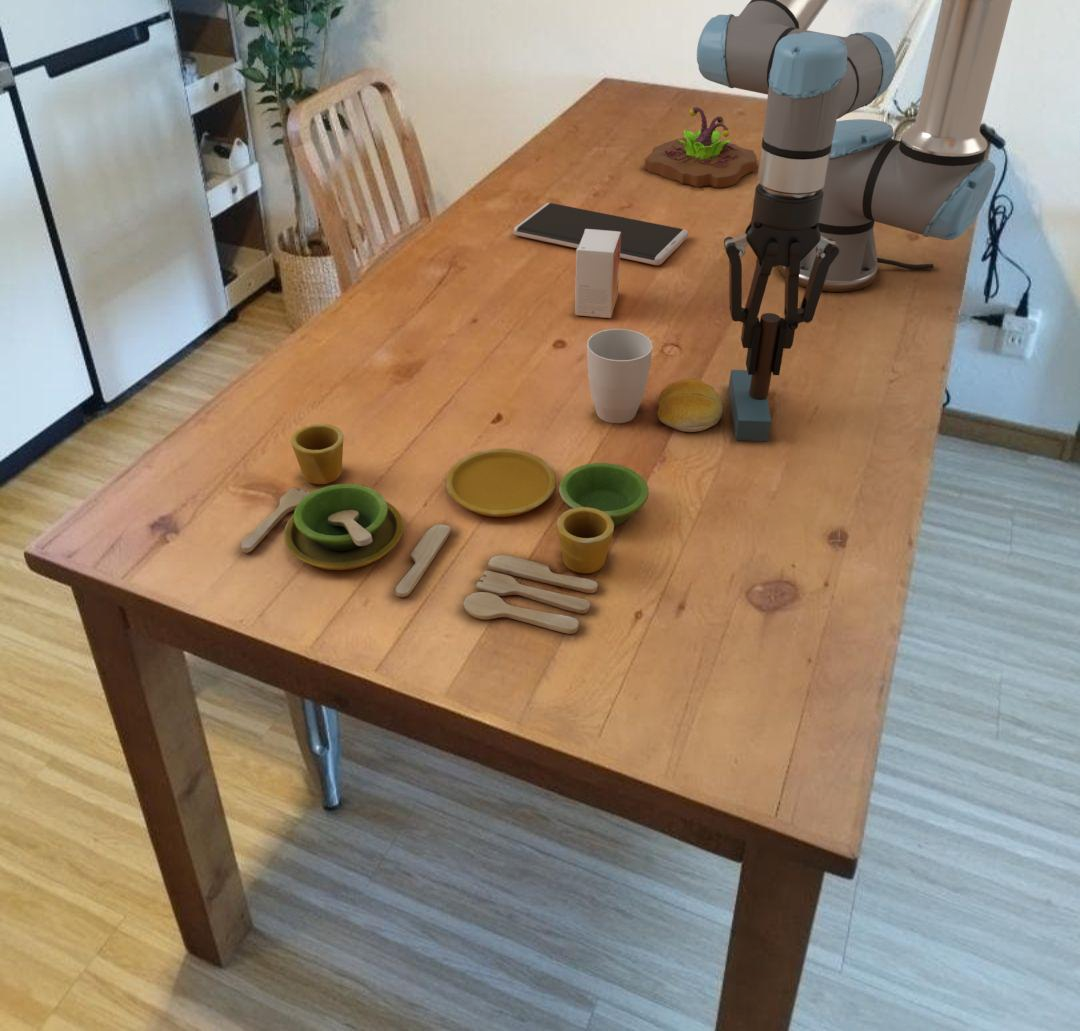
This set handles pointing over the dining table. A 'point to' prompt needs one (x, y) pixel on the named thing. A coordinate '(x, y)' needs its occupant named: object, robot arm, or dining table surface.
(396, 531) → the tableware set
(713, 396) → the bread roll
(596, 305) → the small box
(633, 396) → the cup
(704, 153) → the plant
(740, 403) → the hammer
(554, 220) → the smartphone
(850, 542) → the dining table surface
